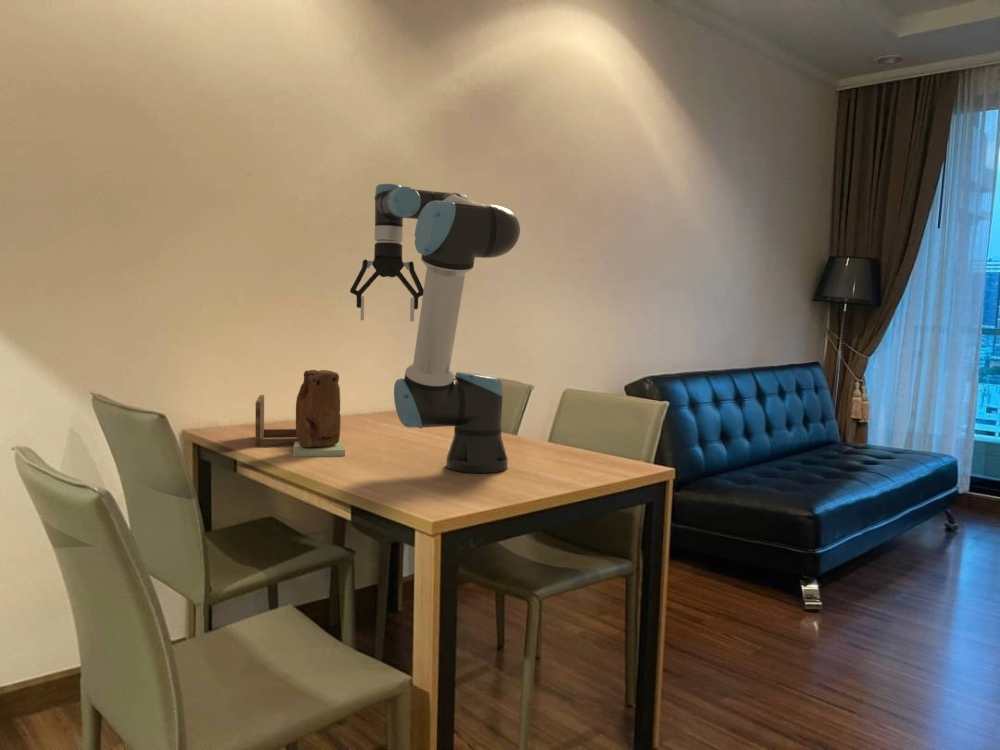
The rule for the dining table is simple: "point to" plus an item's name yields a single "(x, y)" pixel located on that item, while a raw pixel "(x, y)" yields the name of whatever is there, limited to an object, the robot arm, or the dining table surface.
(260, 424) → the slot box
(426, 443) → the dining table surface
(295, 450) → the pad
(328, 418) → the block
